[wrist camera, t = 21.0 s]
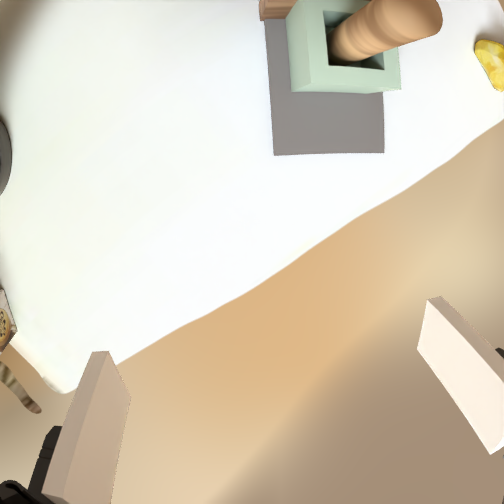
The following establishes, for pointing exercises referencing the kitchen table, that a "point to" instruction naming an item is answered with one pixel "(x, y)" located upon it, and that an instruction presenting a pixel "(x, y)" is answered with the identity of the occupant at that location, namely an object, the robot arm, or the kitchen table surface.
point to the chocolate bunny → (492, 61)
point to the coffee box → (5, 322)
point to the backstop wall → (276, 8)
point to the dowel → (382, 29)
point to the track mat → (317, 110)
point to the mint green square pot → (316, 59)
